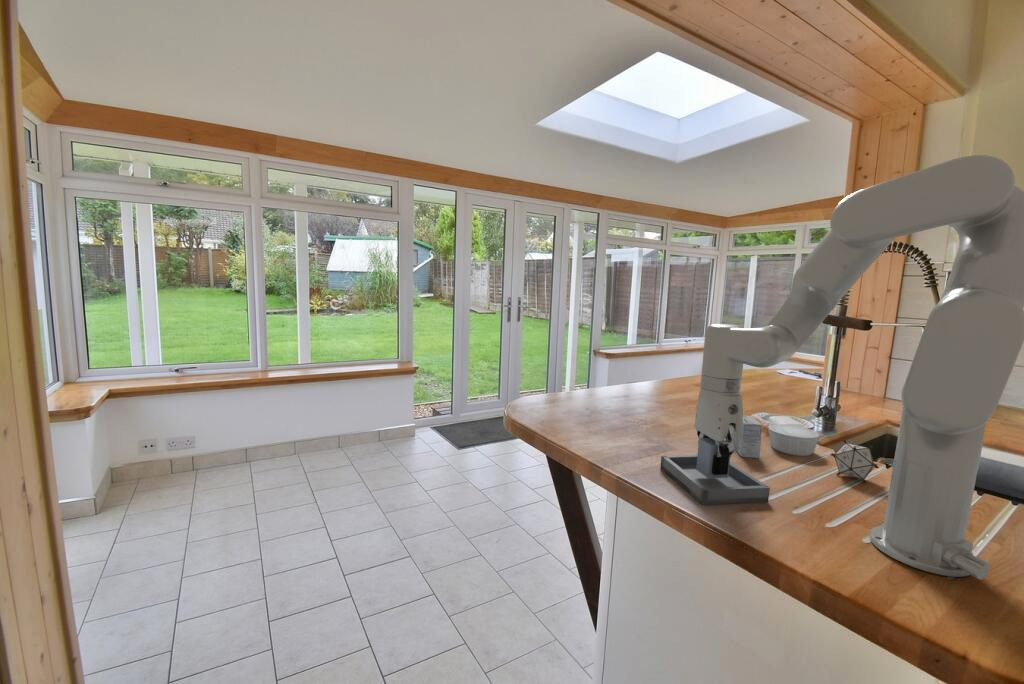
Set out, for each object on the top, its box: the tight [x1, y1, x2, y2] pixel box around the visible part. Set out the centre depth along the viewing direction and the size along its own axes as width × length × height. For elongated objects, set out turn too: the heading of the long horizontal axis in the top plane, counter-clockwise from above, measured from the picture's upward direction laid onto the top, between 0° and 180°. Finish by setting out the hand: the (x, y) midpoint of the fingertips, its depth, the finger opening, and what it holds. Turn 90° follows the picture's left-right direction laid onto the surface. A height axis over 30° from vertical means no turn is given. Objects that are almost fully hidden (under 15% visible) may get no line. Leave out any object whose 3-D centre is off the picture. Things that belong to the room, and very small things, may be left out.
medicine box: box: [736, 414, 763, 459], centre depth 115 cm, size 8×4×9 cm, turn 168°
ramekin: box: [767, 423, 821, 457], centre depth 118 cm, size 11×11×5 cm
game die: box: [830, 439, 880, 484], centre depth 101 cm, size 9×8×10 cm
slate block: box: [696, 438, 731, 478], centre depth 95 cm, size 4×4×7 cm
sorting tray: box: [660, 454, 770, 506], centre depth 96 cm, size 17×14×3 cm
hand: (712, 468), depth 96 cm, fingers closed on slate block, 4 cm apart
